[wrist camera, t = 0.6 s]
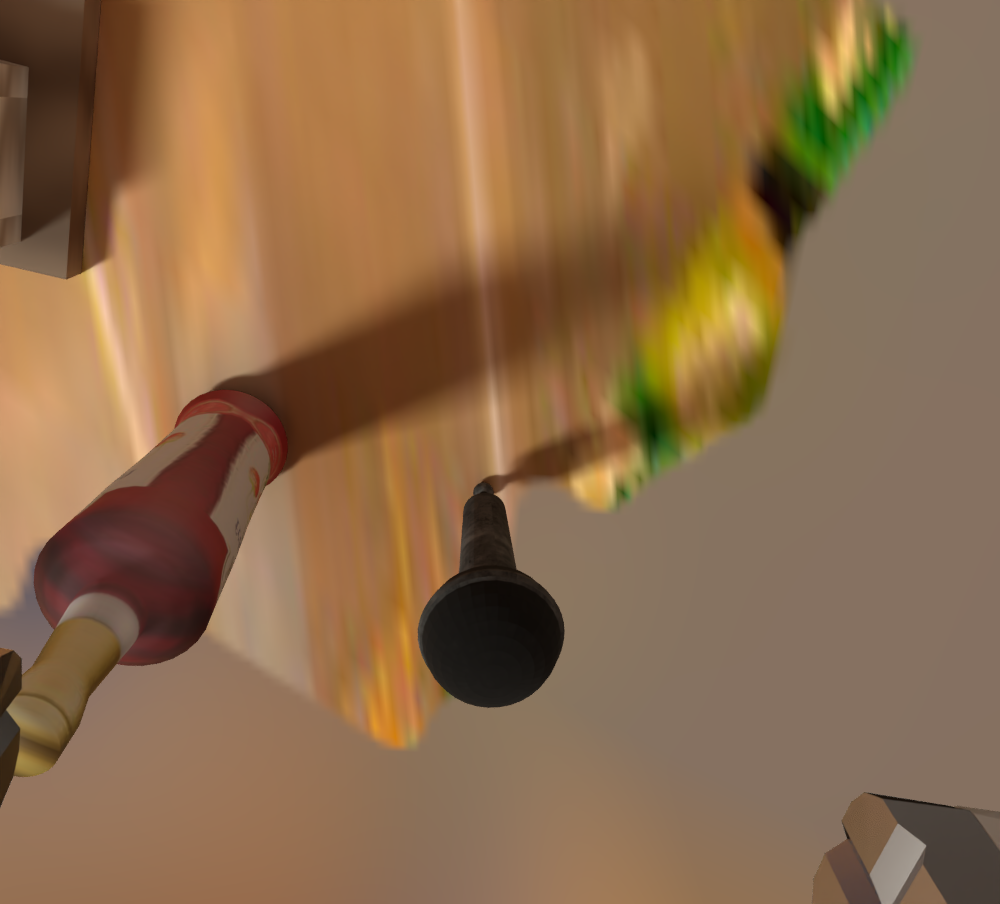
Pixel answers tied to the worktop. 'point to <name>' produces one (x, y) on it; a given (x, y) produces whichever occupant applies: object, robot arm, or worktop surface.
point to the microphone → (490, 617)
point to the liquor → (144, 563)
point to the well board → (46, 131)
